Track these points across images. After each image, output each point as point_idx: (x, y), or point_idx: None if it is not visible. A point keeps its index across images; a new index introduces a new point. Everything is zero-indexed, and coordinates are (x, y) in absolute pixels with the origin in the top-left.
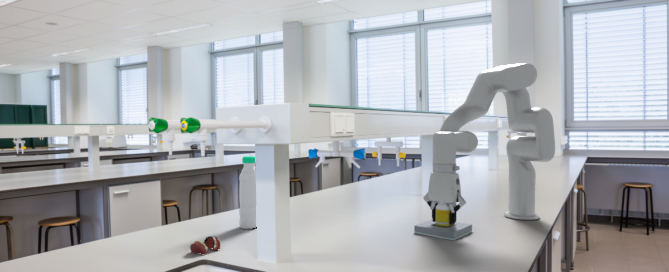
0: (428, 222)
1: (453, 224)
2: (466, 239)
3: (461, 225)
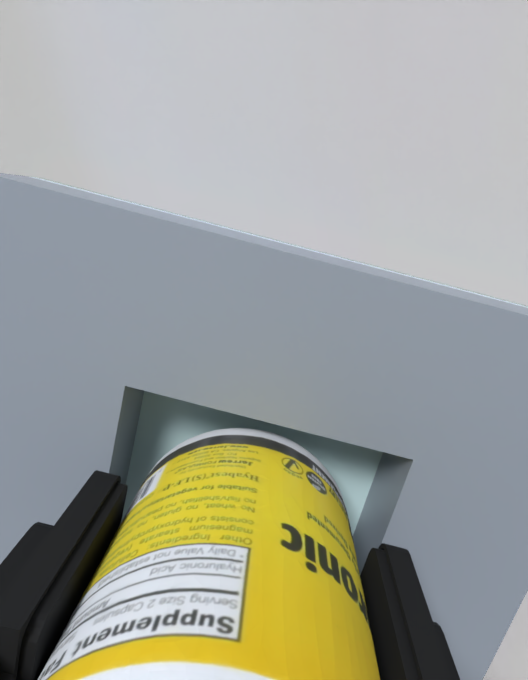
0: (8, 487)
1: (357, 444)
2: (514, 645)
3: (481, 479)
